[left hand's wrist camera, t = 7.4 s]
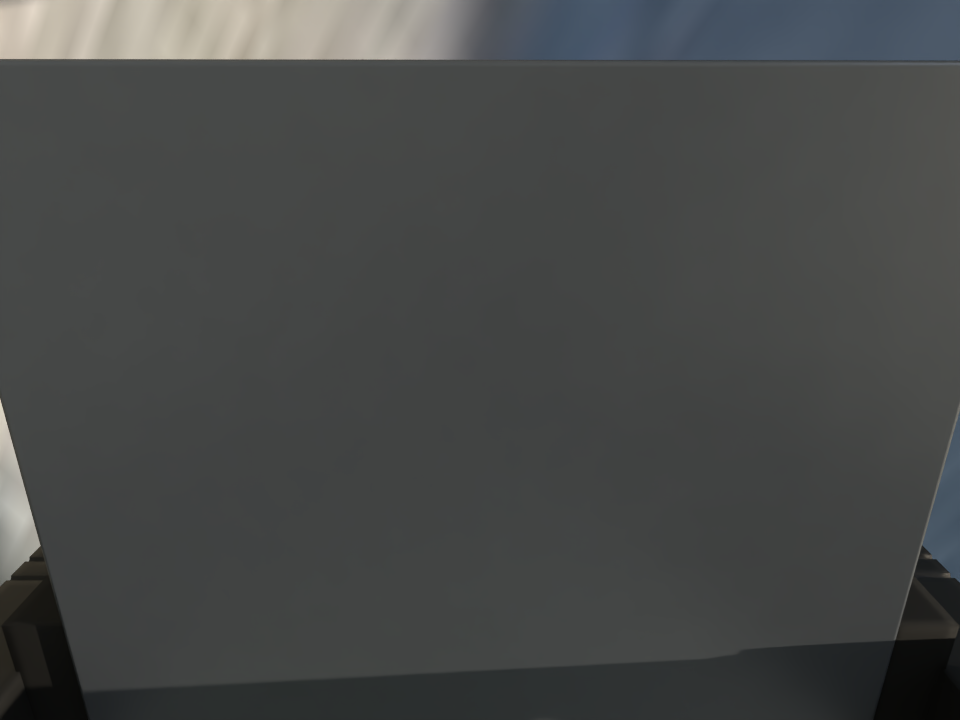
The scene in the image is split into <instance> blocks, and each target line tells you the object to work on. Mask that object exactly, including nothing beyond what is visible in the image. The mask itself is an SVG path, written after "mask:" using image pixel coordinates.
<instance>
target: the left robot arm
mask: <svg viewBox="0 0 960 720" xmlns="http://www.w3.org/2000/svg"><path fill="white" fill-rule="evenodd" d="M0 720H88V716H87V713H86V709H85V706H84V702H83V698H82V695H81V691H80V687H79V684H78V680H77V676H76V673H75V669H74V665H73V662H72V658H71V654H70V651H69V647H68V644H67V640H66V636H65V633H64V629H63V625H62V622H61V618H60V614H59V611H58V607H57V603H56V600H55V596H54V592H53V589H52V585H51V582H50V578H49V574H48V571H47V567H46V563H45V560H44V556H43V552H42V549H41V546H40V547H39V548H38V549H37V550H36V551H35V552H34V553H33V554H32V555H31V556H30V560H29V562H24V563H23V564H22V565H21V566H20V567H19V568H18V569H17V570H16V571H15V572H14V573H13V574H12V575H11V580H10V581H5V582H4V583H3V584H2V585H1V586H0ZM873 720H960V583H959V582H958V581H957V580H956V579H955V578H951V577H950V573H949V572H948V571H947V570H946V569H945V568H944V567H943V566H942V565H941V564H940V563H939V562H938V561H937V560H936V559H932V555H931V554H930V553H929V552H928V551H927V550H926V549H925V548H924V547H923V546H922V547H921V550H920V554H919V558H918V561H917V565H916V568H915V572H914V576H913V579H912V583H911V586H910V590H909V593H908V597H907V601H906V604H905V608H904V611H903V615H902V618H901V622H900V626H899V629H898V633H897V636H896V640H895V644H894V647H893V651H892V654H891V658H890V661H889V665H888V669H887V672H886V676H885V679H884V683H883V687H882V690H881V694H880V697H879V701H878V704H877V708H876V712H875V715H874V719H873Z"/></svg>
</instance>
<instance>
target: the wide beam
mask: <svg viewBox="0 0 960 720" xmlns="http://www.w3.org/2000/svg"><path fill="white" fill-rule="evenodd" d="M0 399H1V403H2V406H3V410H4V414H5V417H6V421H7V425H8V428H9V432H10V436H11V439H12V443H13V447H14V450H15V454H16V458H17V461H18V465H19V468H20V472H21V476H22V479H23V483H24V487H25V490H26V494H27V498H28V501H29V505H30V509H31V512H32V516H33V520H34V523H35V527H36V530H37V534H38V538H39V541H40V545H41V549H42V552H43V556H44V560H45V563H46V567H47V571H48V574H49V578H50V582H51V585H52V589H53V592H54V596H55V600H56V603H57V607H58V611H59V614H60V618H61V622H62V625H63V629H64V633H65V636H66V640H67V644H68V647H69V651H70V654H71V658H72V662H73V665H74V669H75V673H76V676H77V680H78V684H79V687H80V691H81V695H82V698H83V702H84V706H85V709H86V713H87V716H88V720H873V719H874V715H875V712H876V708H877V704H878V701H879V697H880V694H881V690H882V687H883V683H884V679H885V676H886V672H887V669H888V665H889V661H890V658H891V654H892V651H893V647H894V644H895V640H896V636H897V633H898V629H899V626H900V622H901V618H902V615H903V611H904V608H905V604H906V601H907V597H908V593H909V590H910V586H911V583H912V579H913V576H914V572H915V568H916V565H917V561H918V558H919V554H920V550H921V547H922V543H923V540H924V536H925V533H926V529H927V525H928V522H929V518H930V515H931V511H932V507H933V504H934V500H935V497H936V493H937V490H938V486H939V482H940V479H941V475H942V472H943V468H944V465H945V461H946V457H947V454H948V450H949V447H950V443H951V439H952V436H953V432H954V429H955V425H956V422H957V418H958V414H959V411H960V61H869V60H200V59H0Z"/></svg>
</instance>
